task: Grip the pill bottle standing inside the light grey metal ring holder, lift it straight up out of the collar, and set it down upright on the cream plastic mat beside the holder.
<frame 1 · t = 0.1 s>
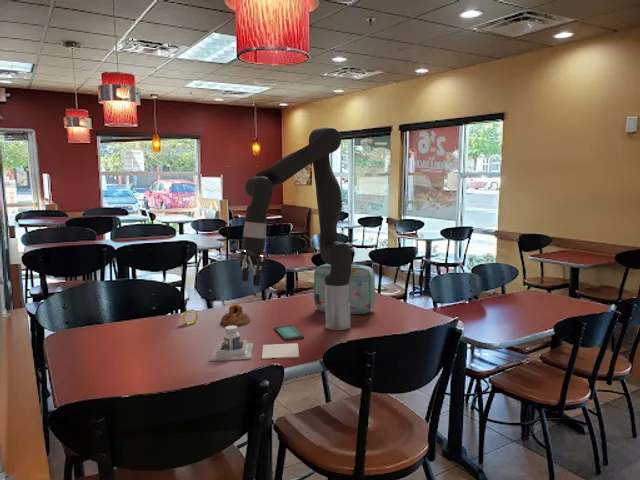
hand: (250, 283, 164), 22 cm above the table, tool pointing down, fingers open, 8 cm apart
bell: (235, 323, 195), on the table
smartphone: (288, 335, 180), on the table
yellow ring: (190, 323, 195), on the table
ring holder: (232, 352, 162), on the table
pill bottle: (232, 353, 162), resting in ring holder
lunch box: (343, 311, 208), on the table
mat: (280, 351, 162), on the table
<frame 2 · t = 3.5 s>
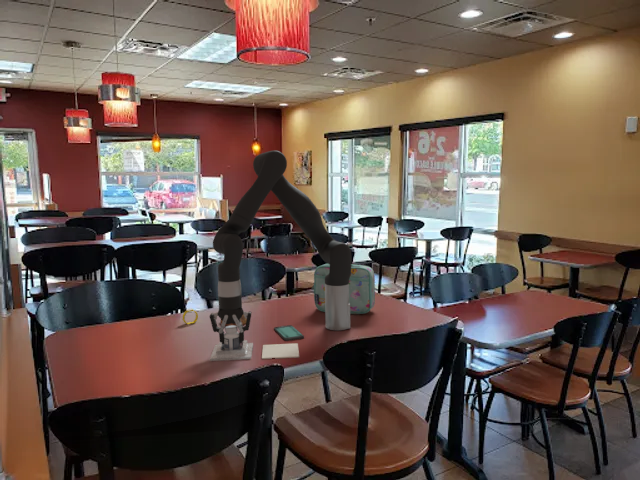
hand: (232, 342, 161), 3 cm above the table, tool pointing down, fingers closed on pill bottle, 5 cm apart
pill bottle: (232, 353, 162), resting in ring holder, touching gripper
everything else where it was.
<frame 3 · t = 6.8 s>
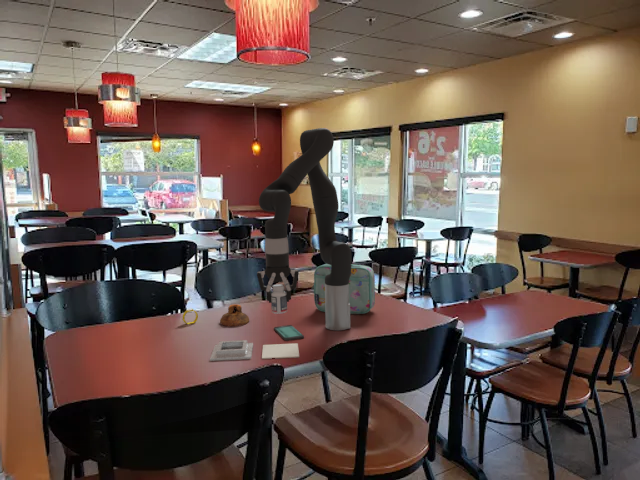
hand: (279, 301, 160), 17 cm above the table, tool pointing down, fingers closed on pill bottle, 5 cm apart
pill bottle: (279, 312, 160), point 13 cm above the table, touching gripper
everything else where it was.
when the fingers open (5 cm above the table, at t = 10.0 s): pill bottle stays where it is, resting on mat.
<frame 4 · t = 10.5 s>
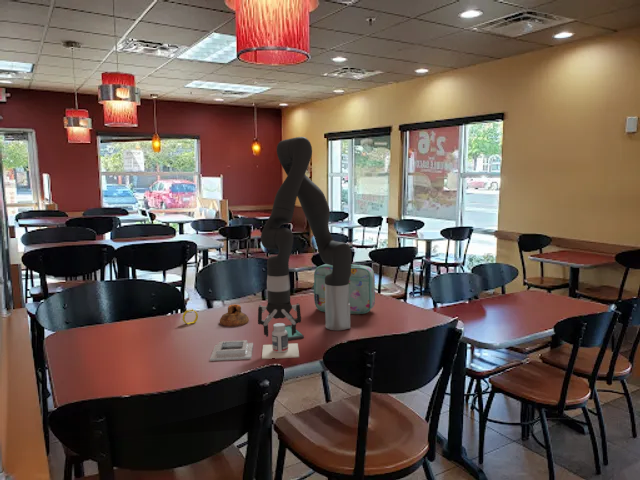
hand: (280, 335, 161), 6 cm above the table, tool pointing down, fingers open, 8 cm apart
pill bottle: (280, 350, 162), resting on mat
everything else where it was.
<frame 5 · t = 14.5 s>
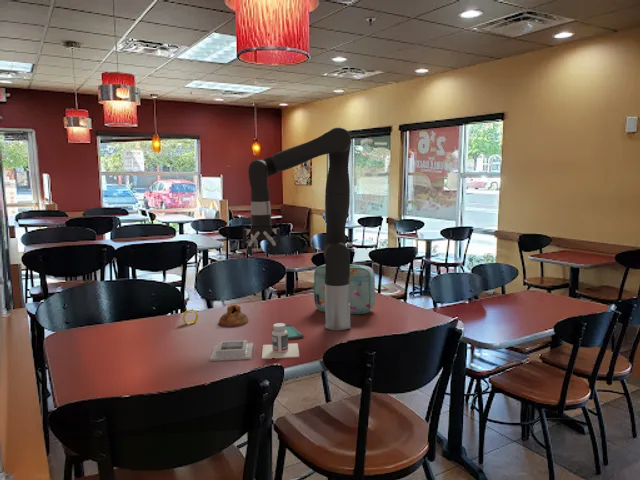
hand: (262, 255, 185), 28 cm above the table, tool pointing down, fingers open, 8 cm apart
nothing on the table moved.
at the end: pill bottle inside the target area on the mat (0.0 cm from its centre), point 0.2 cm above the mat's base; pill bottle tilted 0°; the gripper is holding nothing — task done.
